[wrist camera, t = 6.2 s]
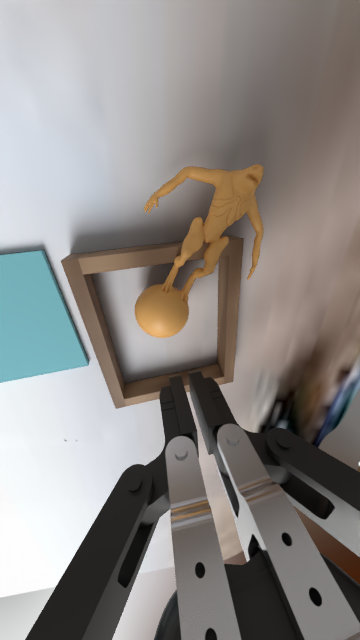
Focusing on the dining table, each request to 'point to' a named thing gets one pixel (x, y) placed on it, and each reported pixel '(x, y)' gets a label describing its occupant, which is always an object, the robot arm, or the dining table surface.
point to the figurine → (200, 243)
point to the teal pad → (34, 320)
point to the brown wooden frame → (133, 257)
